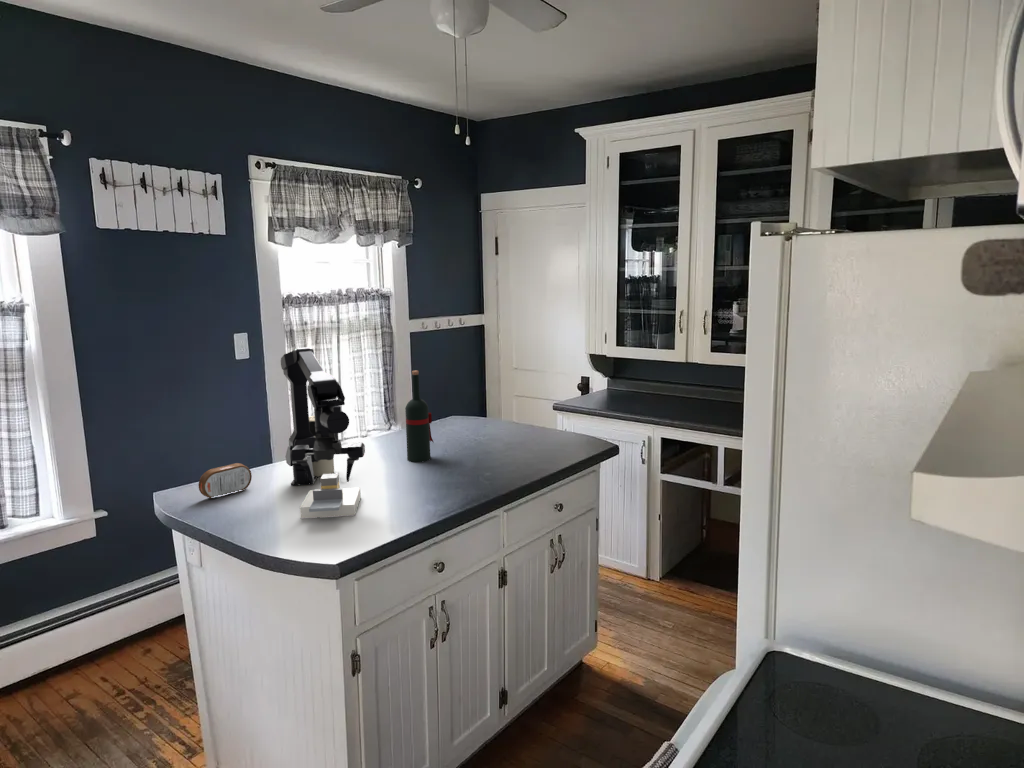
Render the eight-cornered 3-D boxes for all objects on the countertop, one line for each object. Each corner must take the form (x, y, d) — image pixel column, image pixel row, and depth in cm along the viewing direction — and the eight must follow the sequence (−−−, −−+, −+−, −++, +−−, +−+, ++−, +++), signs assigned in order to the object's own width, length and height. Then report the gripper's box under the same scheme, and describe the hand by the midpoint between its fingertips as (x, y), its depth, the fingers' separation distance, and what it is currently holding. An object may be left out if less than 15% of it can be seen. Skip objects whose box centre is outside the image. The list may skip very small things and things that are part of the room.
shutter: (314, 501, 178) (313, 489, 178) (343, 500, 179) (342, 488, 178) (309, 511, 171) (308, 499, 170) (339, 510, 172) (338, 497, 171)
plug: (325, 505, 185) (322, 474, 183) (340, 504, 185) (338, 473, 184) (322, 511, 181) (320, 478, 179) (338, 510, 181) (336, 478, 180)
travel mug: (326, 477, 209) (322, 420, 206) (303, 476, 211) (299, 420, 208) (338, 470, 216) (335, 415, 213) (316, 469, 218) (312, 414, 215)
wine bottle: (440, 456, 230) (437, 369, 224) (417, 463, 222) (413, 373, 217) (425, 452, 235) (421, 367, 229) (402, 459, 227) (398, 371, 222)
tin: (248, 486, 202) (246, 459, 201) (254, 488, 200) (252, 461, 199) (199, 500, 191) (196, 472, 189) (204, 503, 189) (201, 474, 187)
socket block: (310, 500, 189) (309, 490, 189) (360, 497, 190) (360, 487, 190) (300, 518, 176) (299, 507, 175) (354, 515, 177) (354, 504, 176)
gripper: (283, 434, 170) (288, 494, 173) (358, 431, 172) (362, 490, 175) (292, 424, 181) (297, 480, 184) (363, 421, 183) (366, 477, 186)
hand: (330, 482), depth 182 cm, fingers open, 9 cm apart
